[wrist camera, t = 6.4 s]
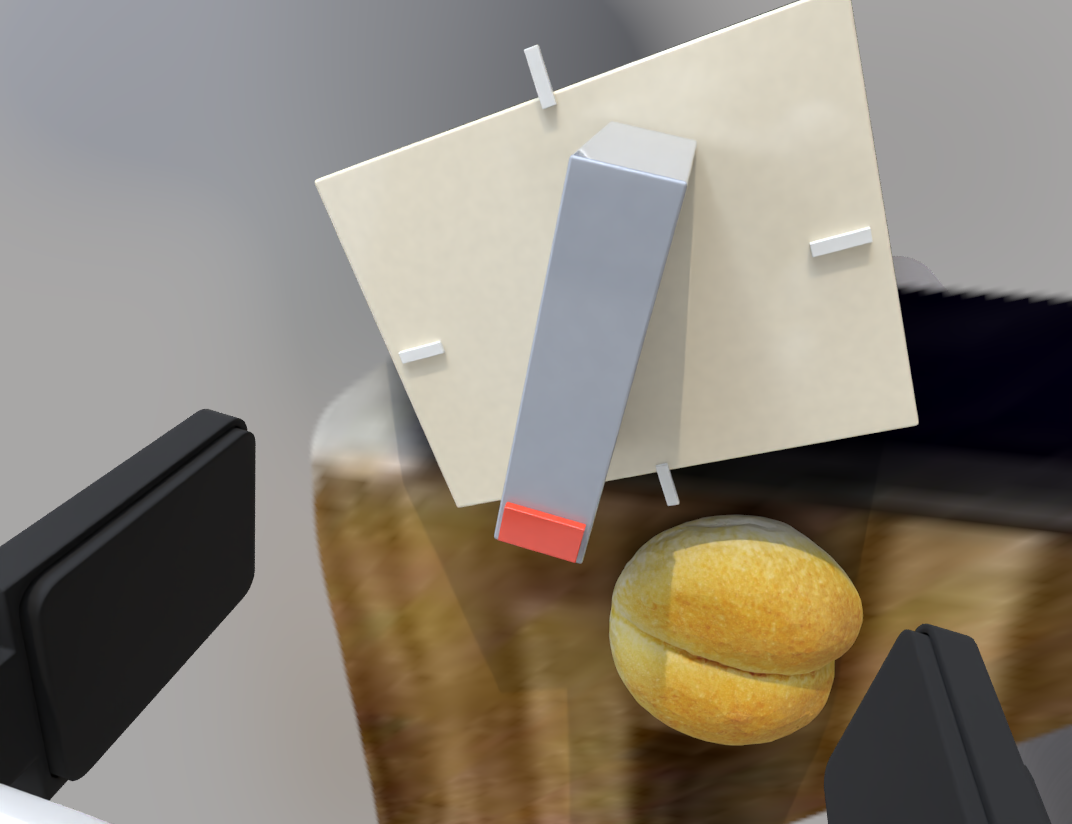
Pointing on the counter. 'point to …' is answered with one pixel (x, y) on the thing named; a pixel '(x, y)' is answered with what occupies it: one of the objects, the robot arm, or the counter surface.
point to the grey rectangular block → (590, 332)
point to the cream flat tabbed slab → (691, 268)
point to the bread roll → (732, 628)
